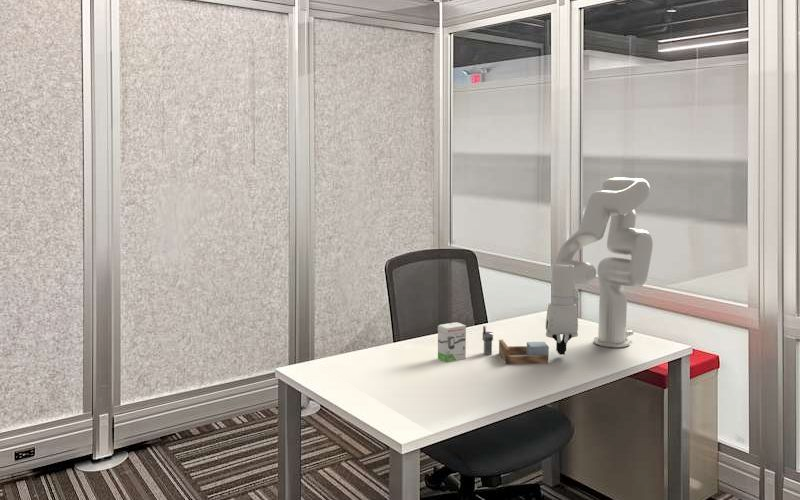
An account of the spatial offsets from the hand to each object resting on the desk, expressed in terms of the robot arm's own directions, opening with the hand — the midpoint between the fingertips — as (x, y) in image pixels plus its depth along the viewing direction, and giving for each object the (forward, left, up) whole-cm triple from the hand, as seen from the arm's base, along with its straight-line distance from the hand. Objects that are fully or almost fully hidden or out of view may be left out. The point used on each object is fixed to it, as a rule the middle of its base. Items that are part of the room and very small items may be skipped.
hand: (561, 353), depth 227 cm
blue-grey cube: (+7, -4, -2) cm, 8 cm away
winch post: (+18, -17, -2) cm, 25 cm away
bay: (+11, -7, -2) cm, 13 cm away
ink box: (+32, -20, -2) cm, 37 cm away
